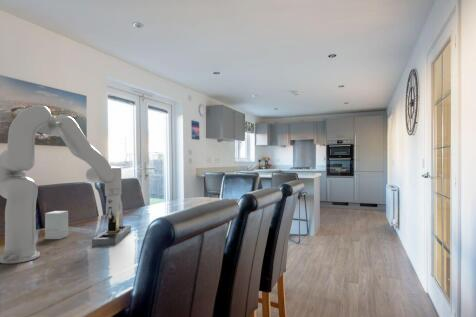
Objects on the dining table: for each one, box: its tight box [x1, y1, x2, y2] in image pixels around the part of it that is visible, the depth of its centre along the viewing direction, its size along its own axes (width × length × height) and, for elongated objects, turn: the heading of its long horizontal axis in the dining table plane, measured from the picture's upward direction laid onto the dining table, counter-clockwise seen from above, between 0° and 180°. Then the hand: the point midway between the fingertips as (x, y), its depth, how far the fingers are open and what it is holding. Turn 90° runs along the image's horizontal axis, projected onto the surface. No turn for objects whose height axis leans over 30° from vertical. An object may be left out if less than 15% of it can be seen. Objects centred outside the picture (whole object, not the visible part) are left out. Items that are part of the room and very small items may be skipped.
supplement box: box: [44, 210, 69, 240], centre depth 148 cm, size 7×7×13 cm
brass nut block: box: [108, 215, 119, 233], centre depth 146 cm, size 4×4×9 cm
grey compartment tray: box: [91, 225, 132, 247], centre depth 146 cm, size 28×10×3 cm, turn 6°
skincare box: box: [106, 201, 124, 226], centre depth 166 cm, size 8×6×15 cm
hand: (113, 229), depth 146 cm, fingers closed on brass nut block, 4 cm apart
